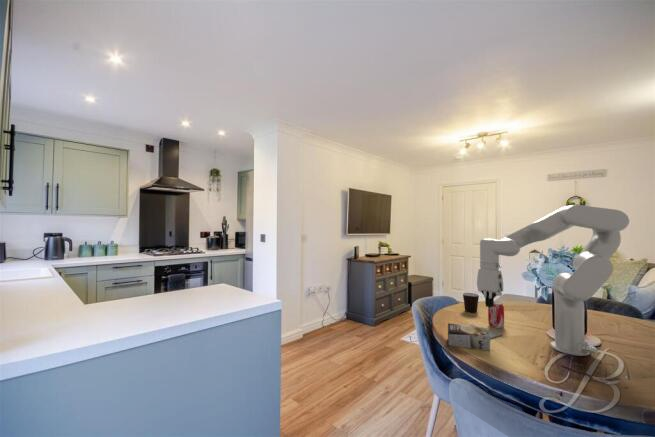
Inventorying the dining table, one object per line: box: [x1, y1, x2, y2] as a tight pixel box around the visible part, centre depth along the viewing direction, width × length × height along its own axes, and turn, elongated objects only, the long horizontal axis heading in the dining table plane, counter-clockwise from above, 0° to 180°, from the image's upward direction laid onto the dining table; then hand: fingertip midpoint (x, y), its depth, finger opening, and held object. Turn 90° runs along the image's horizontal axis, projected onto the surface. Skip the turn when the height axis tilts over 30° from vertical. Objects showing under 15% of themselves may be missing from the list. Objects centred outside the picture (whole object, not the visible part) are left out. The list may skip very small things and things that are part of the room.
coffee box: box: [447, 323, 491, 352], centre depth 128 cm, size 9×6×16 cm
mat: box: [467, 324, 502, 340], centre depth 140 cm, size 15×16×1 cm
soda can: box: [487, 300, 505, 329], centre depth 150 cm, size 7×7×12 cm
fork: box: [560, 364, 620, 385], centre depth 102 cm, size 3×16×2 cm, turn 29°
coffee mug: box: [462, 292, 480, 314], centre depth 174 cm, size 12×9×10 cm
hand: (489, 306), depth 134 cm, fingers closed
